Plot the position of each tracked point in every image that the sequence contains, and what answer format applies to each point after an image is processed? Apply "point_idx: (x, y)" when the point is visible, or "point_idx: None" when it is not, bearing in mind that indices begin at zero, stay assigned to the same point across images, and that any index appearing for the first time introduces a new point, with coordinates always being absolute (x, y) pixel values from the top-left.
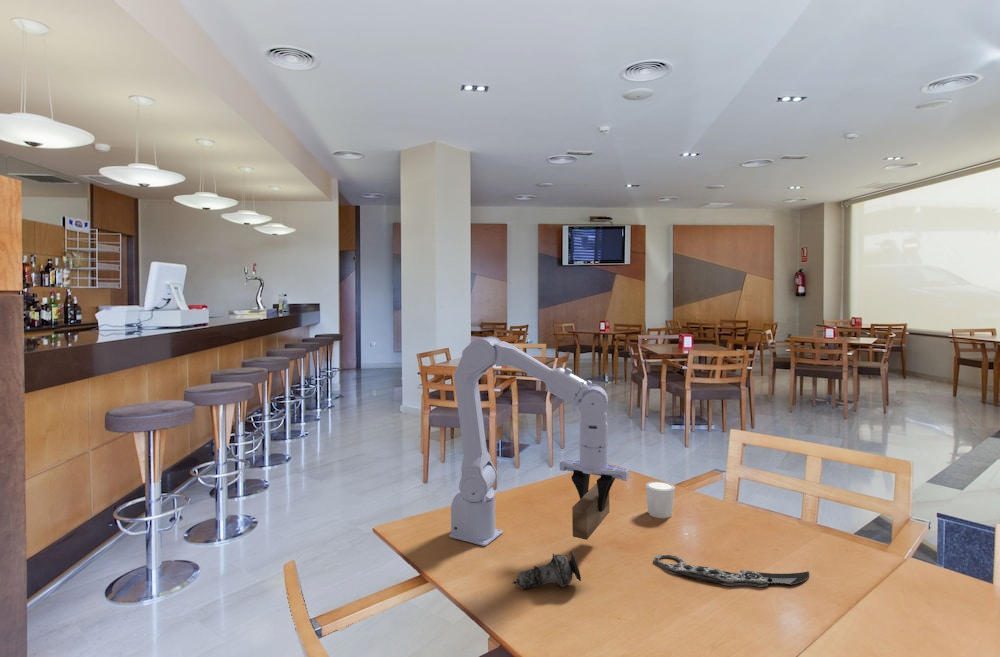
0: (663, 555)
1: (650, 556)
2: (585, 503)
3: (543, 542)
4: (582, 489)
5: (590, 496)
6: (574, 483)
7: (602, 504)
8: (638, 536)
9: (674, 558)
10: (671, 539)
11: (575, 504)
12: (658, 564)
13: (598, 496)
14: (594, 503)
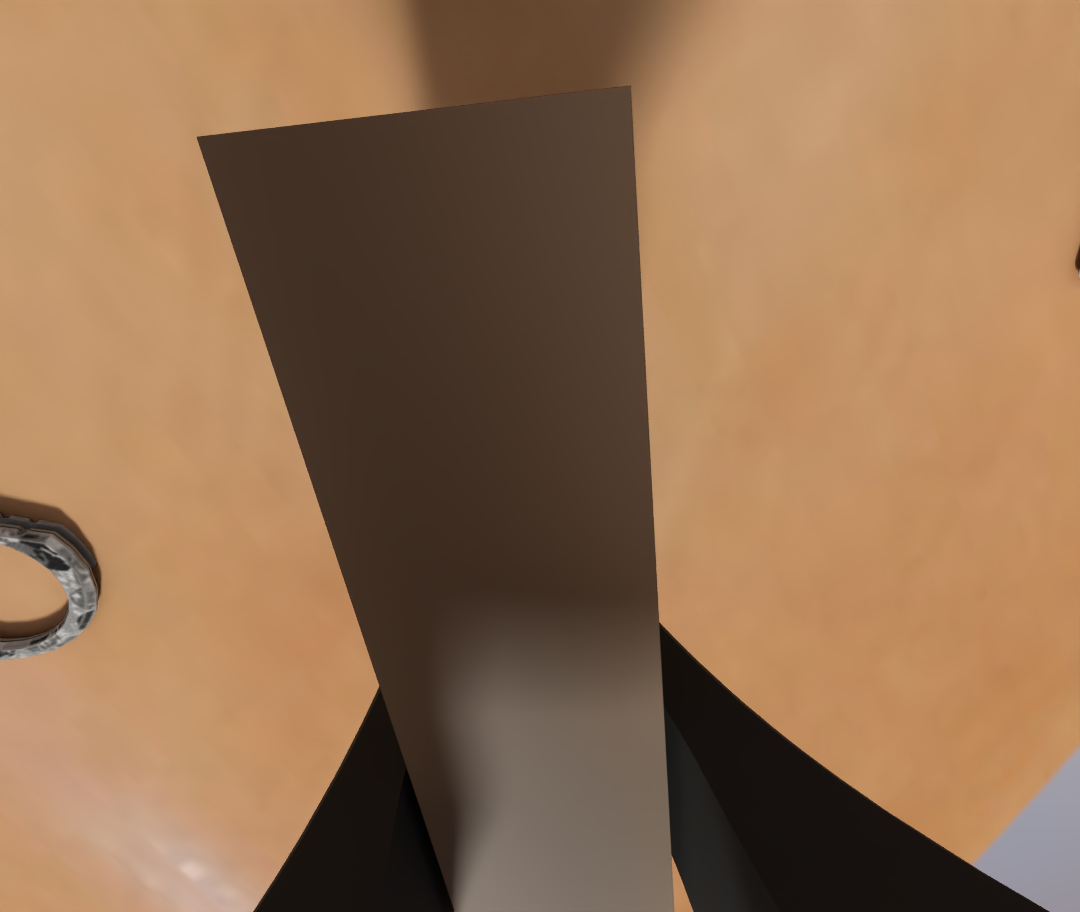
0: (63, 622)
1: (149, 583)
2: (469, 484)
3: (793, 332)
4: (738, 829)
5: (555, 766)
6: (1014, 902)
7: (362, 729)
8: (360, 721)
9: (9, 640)
10: (204, 792)
11: (635, 311)
12: (22, 523)
13: (439, 833)
14: (373, 629)
